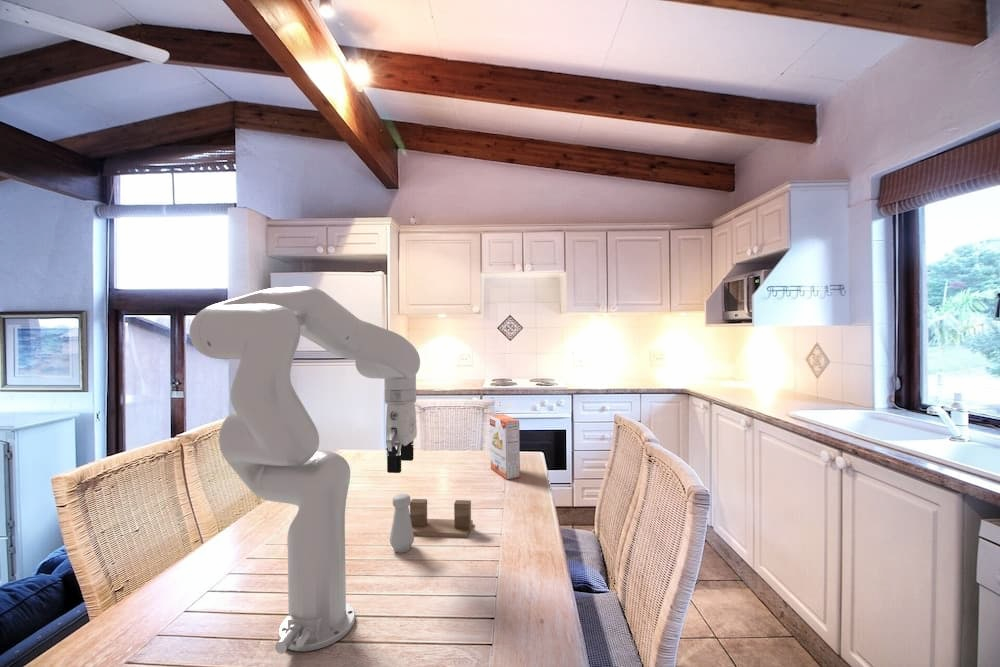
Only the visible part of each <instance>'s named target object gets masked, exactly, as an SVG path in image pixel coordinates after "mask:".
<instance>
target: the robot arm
mask: <svg viewBox="0 0 1000 667" xmlns="http://www.w3.org/2000/svg"><path fill="white" fill-rule="evenodd" d="M188 334H189V338H190V341H191V344H192V346H193V347H194V348H195V350H197V352H199V353H200V354H202V355H204V356H205V357H208V358H211V359H215V360H216V359H218V360H240V361H239V362H238V365H237V366H238V367H237V370H236V372H235V375H234V379H233V381H232V384H231V388H230V401H231V404H232V407H233V410H234V411H232V412H231V413H230V414H228V416H227V417H226V418H225V419H224V420H223V423H222V425H221V426H220V430H219V434H218V435H219V436H218V444H219V448H220V452H221V453H222V457H224V459H225V461H226V463H228V465H229V466H230V467H231V468H232V470H233V471H234V472H235V473H236V474H237V475H238V477H239V478H240V479H241V481H242V482H243V483H244V484H245V485H246V487H248V488H247V489H249V490H250V492H252V493H253V495H255V496H257V497H258V498H260V499H261V500H264V501H268V502H275V503H281V504H290V505H291V506H292V505H294V506H297V508H298V510H297V513H296V515H295V516H294V518H293V519H292V522H291V523H290V525H289V527H288V531H287V586H288V588H287V590H288V594H287V596H288V599H287V600H288V615H287V616H286V618H285V619H284V620H282V622H281V624H280V625H279V629H278V639H279V640H277V642H275V643H276V644H275V646H274V648H275V651H276V653H278V654H281V655H282V654H284V653H285V652H286V651H287V650H291V651H295V652H311V651H315V650H320V649H323V648H326V647H329V646H330V645H332V644H335V643H336V642H338V641H339V640H341V639H342V638H344V637H345V636H346V635H347V634H349V633H348V632H350V631H351V629H352V628H353V626H354V624H355V621H356V614H355V613H356V612H355V609H354V607H353V606H352V605H351V604H350V603H348V602H347V600H346V599H347V598H346V597H347V596H346V595H347V594H346V592H347V591H346V589H347V586H346V585H347V584H346V583H347V582H346V581H347V580H346V507H347V506H346V505H347V497H348V492H349V488H350V480H351V468H350V465H349V463H348V461H347V460H346V459H345V458H344V457H343V456H341V455H340V454H338V453H336V452H332V451H328V450H320V449H319V446H320V435H319V434H320V433H319V432H318V428H317V426H316V424H315V423H314V421H313V419H312V418H311V416H310V414H309V412H308V410H306V407H305V405H304V404H303V403H302V401H301V399H300V397H299V396H298V394H297V392H296V390H295V388H294V386H293V383H292V381H291V380H292V378H291V372H292V365H293V362H294V358H295V354H296V351H297V349H298V347H299V342H300V338H301V336H302V337H303V338H306V340H308V341H311V342H312V343H314V344H315V345H317V346H319V347H321V348H323V349H324V350H325V351H327V352H329V353H330V354H332V355H334V356H336V357H339V358H342V359H343V358H344V359H346V360H350V361H351V360H353V361H355V363H354V364H355V368H356V370H357V372H358V373H359V374H360V375H361V376H362V377H365V378H368V379H381V380H382V379H383V380H384V404H386V414H385V415H386V418H385V419H386V420H385V444H386V445H385V446H386V448H385V449H386V462H387V463H386V464H387V466H386V469H387V471H386V472H387V473H389V474H400V473H401V472H402V462H404V461H406V462H407V461H409V462H412V461H414V440H415V439H416V438H417V435H418V431H417V417H416V416H417V414H416V402H417V374H418V373H419V370H420V367H421V358H420V357H421V356H420V354H419V352H418V350H417V348H416V347H415V346H414V345H413V344H412V343H411V341H409V340H408V339H406V338H405V337H404V336H403V335H400V334H398V333H396V332H394V331H393V330H389V329H387V328H384V327H380V326H379V325H375V324H373V323H371V322H368V321H365V320H362V319H359V318H358V316H355V315H354V314H353V313H352V312H351V311H349V310H348V309H347V308H346V307H344V306H343V305H342V304H340V303H339V302H338V301H336V300H335V298H333V297H331V296H330V295H329V294H328V293H326V292H325V291H323V290H322V289H319V288H317V287H312V286H289V287H287V286H286V287H272V288H266V289H263V290H262V289H261V290H259V291H258V290H257V291H255V292H252V293H249V294H245V295H242V296H238V297H235V298H231V299H228V300H225V301H221V302H218V303H214V304H211V305H208V306H207V307H204V308H203V309H201V310H200V311H199V312H198V313H197V314H195V316H194V317H193V319H192V321H191V323H190V325H189V333H188ZM396 447H397V448H396Z"/></svg>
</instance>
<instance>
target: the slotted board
mask: <svg viewBox="0 0 1000 667" xmlns="http://www.w3.org/2000/svg"><path fill="white" fill-rule="evenodd" d="M453 504H454V506H453V507H454V508H453V514H454V518H453V519H447V518H442V519H441V518H428V499H426V498H412V499H411V503H410V505H409V513H410V518H411V524H412V529H413V534H414V535H417V536H419V537H440V536H446V537H447V538H469V535H470V532H471V529H472V527H473V524H474V522H473V519H472V501H471V500H466V499H465V500H464V499H463V500H462V499H456V500H455V501H454V503H453ZM417 536H416V537H417ZM446 537H445V538H446Z"/></svg>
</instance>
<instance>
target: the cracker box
mask: <svg viewBox="0 0 1000 667" xmlns="http://www.w3.org/2000/svg"><path fill="white" fill-rule="evenodd" d="M489 435H490V436H489V439H490V440H489V441H490V444H489V446H490V469H491V470H492V471H494V472H495V473H497V474H498V475H499V476H500V477H502V478H504V479H505V480H507V479H508V480H512V479H517V478H520V477H521V459H520V458H521V456H520V455H521V454H520V449H521V448H520V446H521V445H520V420H519V419H516V418H514V417H510V416H509V415H506V414H504V413H499V414H490V415H489ZM508 480H507V481H508Z"/></svg>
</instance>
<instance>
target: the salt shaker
mask: <svg viewBox="0 0 1000 667" xmlns="http://www.w3.org/2000/svg"><path fill="white" fill-rule="evenodd" d="M411 500H412V499H411V496H410V495H409V494H407V493H400V494H399V493H398V494H396V495H394V496H393V497H392V507H394V512H393V518H392V524H391V530H390V531H391V532H390V538H389V544H390V545H391V547H392V548H393V551H394V553H399V554H402V553H407V552H409V551H410V549H411V547H412V545H413V543H414V540H415V536H414V534H413V529H412V524H411V518H410V503H411Z"/></svg>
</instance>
